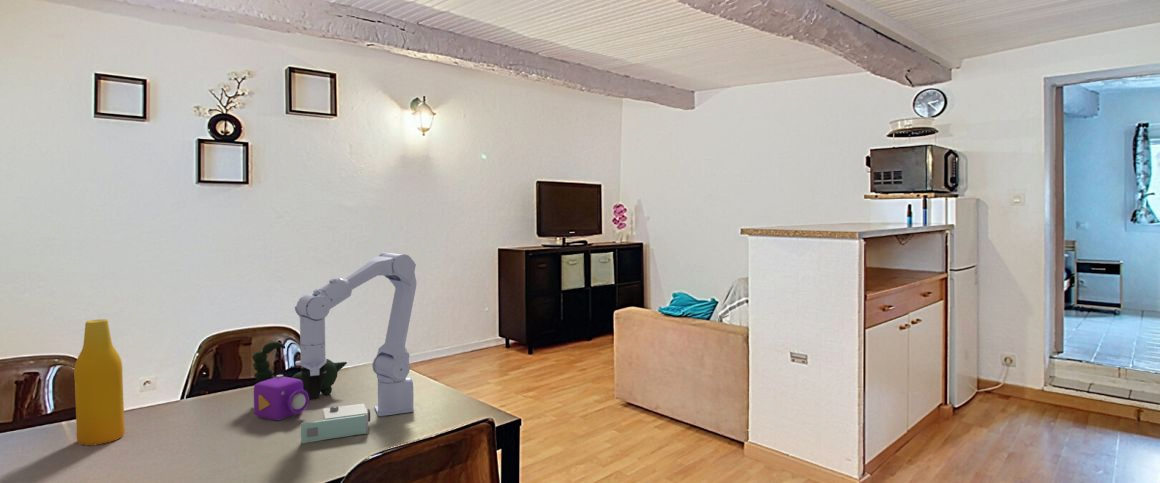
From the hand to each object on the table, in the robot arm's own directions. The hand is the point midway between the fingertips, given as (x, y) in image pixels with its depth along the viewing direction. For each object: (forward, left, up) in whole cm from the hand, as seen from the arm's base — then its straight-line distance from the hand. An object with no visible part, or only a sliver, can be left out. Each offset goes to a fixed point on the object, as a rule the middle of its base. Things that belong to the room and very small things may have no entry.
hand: (313, 396), depth 154 cm
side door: (-5, +6, -9) cm, 12 cm away
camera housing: (-7, +1, -9) cm, 12 cm away
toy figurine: (+2, -31, -10) cm, 33 cm away
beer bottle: (+47, -17, -10) cm, 51 cm away
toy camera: (+7, -17, -10) cm, 21 cm away
